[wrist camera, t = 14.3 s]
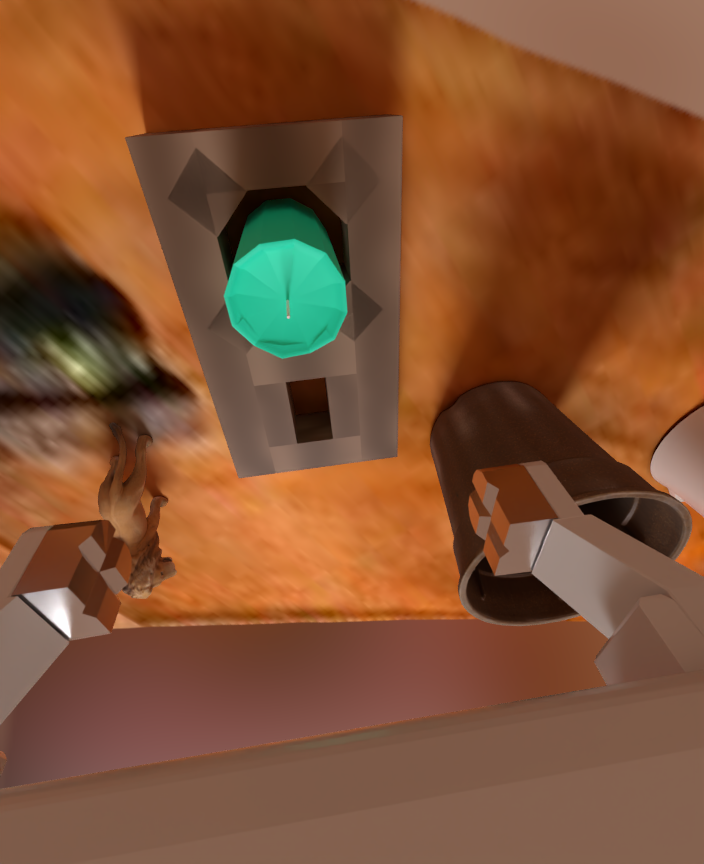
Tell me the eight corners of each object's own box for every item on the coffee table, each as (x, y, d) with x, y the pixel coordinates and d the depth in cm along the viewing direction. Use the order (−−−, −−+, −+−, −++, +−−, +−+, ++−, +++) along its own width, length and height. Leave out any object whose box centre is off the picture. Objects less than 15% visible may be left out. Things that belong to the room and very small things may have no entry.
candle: (223, 217, 26) (192, 279, 17) (309, 182, 26) (326, 225, 16) (265, 302, 30) (258, 390, 21) (340, 272, 30) (369, 349, 20)
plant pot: (418, 502, 47) (468, 646, 34) (393, 389, 37) (451, 536, 24) (557, 464, 46) (660, 597, 33) (572, 338, 36) (728, 462, 23)
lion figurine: (191, 524, 44) (175, 602, 37) (141, 530, 44) (114, 611, 37) (144, 415, 35) (109, 492, 28) (79, 421, 34) (27, 502, 27)
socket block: (387, 114, 24) (402, 115, 21) (388, 429, 39) (397, 456, 36) (145, 133, 23) (125, 137, 20) (242, 448, 38) (238, 478, 35)
